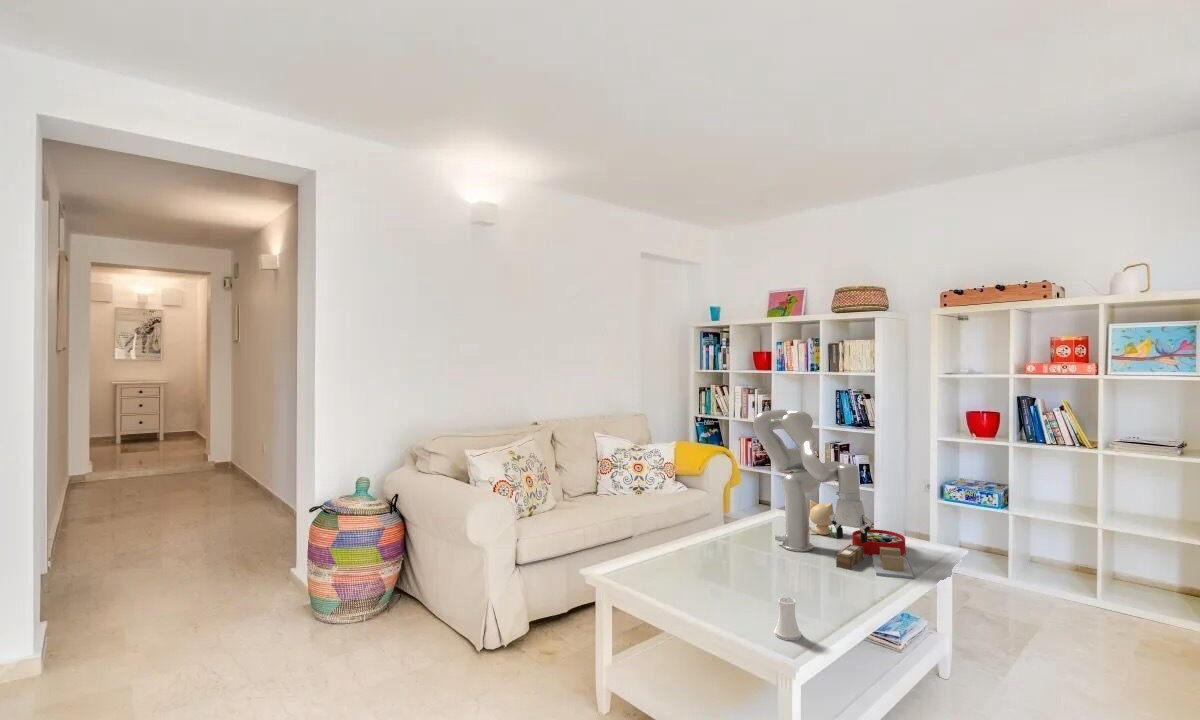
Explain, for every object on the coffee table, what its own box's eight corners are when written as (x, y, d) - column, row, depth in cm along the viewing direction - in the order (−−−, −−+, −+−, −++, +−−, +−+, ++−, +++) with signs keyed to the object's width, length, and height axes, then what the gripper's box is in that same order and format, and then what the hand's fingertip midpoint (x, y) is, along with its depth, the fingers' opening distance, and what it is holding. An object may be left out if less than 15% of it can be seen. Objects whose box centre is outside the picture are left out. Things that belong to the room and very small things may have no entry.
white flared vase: (799, 642, 172) (798, 607, 172) (772, 637, 176) (771, 603, 176) (802, 631, 179) (802, 597, 179) (776, 627, 182) (775, 593, 182)
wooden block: (849, 570, 229) (849, 556, 229) (836, 567, 233) (836, 554, 233) (863, 559, 242) (863, 546, 242) (850, 556, 245) (850, 543, 245)
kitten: (844, 534, 274) (843, 501, 274) (835, 539, 267) (834, 505, 267) (812, 529, 284) (811, 496, 284) (802, 533, 277) (802, 500, 277)
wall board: (876, 575, 223) (876, 560, 223) (872, 556, 244) (872, 542, 244) (913, 578, 219) (912, 563, 219) (905, 559, 239) (905, 545, 239)
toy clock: (844, 529, 263) (891, 528, 262) (845, 543, 263) (891, 542, 262) (864, 543, 243) (914, 542, 242) (864, 558, 243) (915, 557, 242)
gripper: (823, 495, 241) (826, 538, 241) (866, 500, 228) (868, 546, 227) (833, 492, 246) (836, 534, 245) (876, 497, 233) (878, 542, 232)
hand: (851, 540), depth 236 cm, fingers open, 9 cm apart
